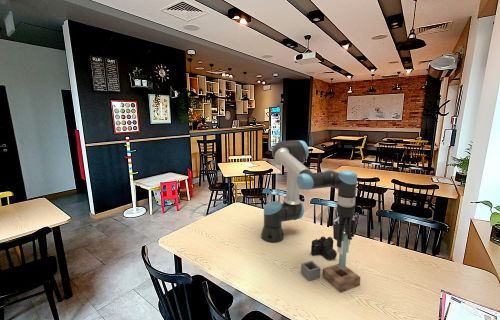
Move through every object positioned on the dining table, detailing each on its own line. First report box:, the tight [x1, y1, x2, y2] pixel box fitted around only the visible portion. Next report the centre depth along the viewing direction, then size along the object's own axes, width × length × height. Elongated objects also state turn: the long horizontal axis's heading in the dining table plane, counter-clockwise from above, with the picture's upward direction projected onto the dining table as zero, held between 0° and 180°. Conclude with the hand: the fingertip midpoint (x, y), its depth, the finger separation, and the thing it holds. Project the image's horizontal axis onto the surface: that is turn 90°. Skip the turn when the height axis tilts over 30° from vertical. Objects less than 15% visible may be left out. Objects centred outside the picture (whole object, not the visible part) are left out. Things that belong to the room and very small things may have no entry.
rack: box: [321, 263, 361, 294], centre depth 113 cm, size 12×12×5 cm
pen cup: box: [300, 260, 321, 282], centre depth 117 cm, size 7×7×6 cm
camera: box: [310, 236, 338, 261], centre depth 134 cm, size 14×11×10 cm
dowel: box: [338, 232, 348, 268], centre depth 110 cm, size 3×3×16 cm
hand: (342, 252), depth 110 cm, fingers closed on dowel, 3 cm apart
